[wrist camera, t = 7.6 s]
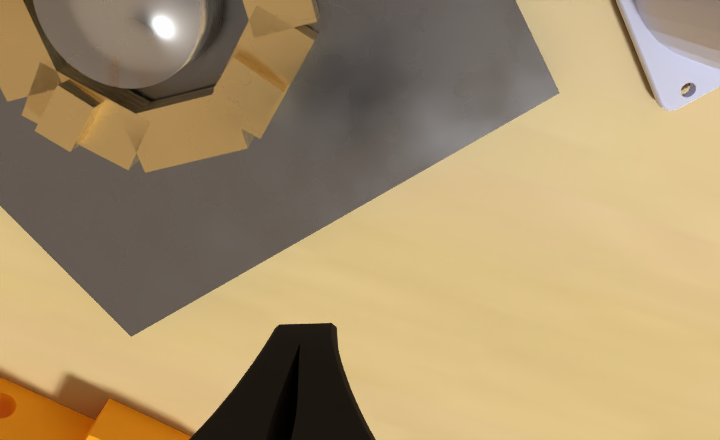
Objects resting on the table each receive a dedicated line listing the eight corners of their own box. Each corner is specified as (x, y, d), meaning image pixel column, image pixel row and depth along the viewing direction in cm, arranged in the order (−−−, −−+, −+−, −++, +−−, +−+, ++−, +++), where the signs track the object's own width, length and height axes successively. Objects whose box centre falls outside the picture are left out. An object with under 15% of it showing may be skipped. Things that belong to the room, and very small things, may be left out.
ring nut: (345, 113, 20) (339, 173, 15) (75, 177, 21) (-19, 255, 16) (249, -258, 15) (192, -358, 10) (-89, -150, 17) (-295, -192, 11)
